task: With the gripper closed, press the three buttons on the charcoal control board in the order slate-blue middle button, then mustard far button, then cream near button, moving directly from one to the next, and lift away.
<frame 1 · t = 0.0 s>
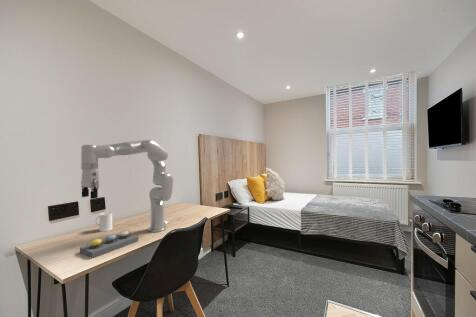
hand: (89, 197, 111), 31 cm above the table, fingers open, 9 cm apart
slate button: (110, 237, 120), point 5 cm above the table, slide at 0.0 cm
mug: (103, 229, 150), on the table
mustard button: (96, 242, 113), point 5 cm above the table, slide at 0.0 cm
control board: (110, 246, 120), on the table
cream button: (124, 233, 127), point 5 cm above the table, slide at 0.0 cm
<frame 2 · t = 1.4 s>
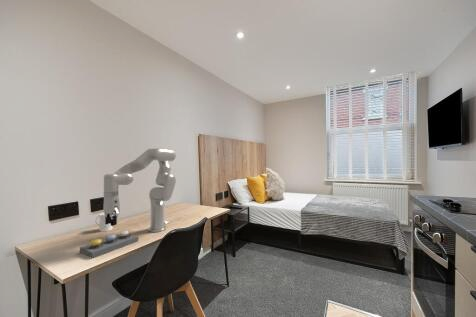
hand: (111, 224, 120), 13 cm above the table, fingers open, 5 cm apart
nothing on the table moved.
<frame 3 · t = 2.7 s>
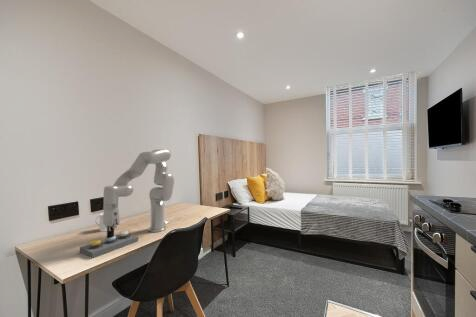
hand: (110, 236, 120), 6 cm above the table, fingers closed
slate button: (110, 238, 120), point 5 cm above the table, slide at 0.7 cm
everything else where it was.
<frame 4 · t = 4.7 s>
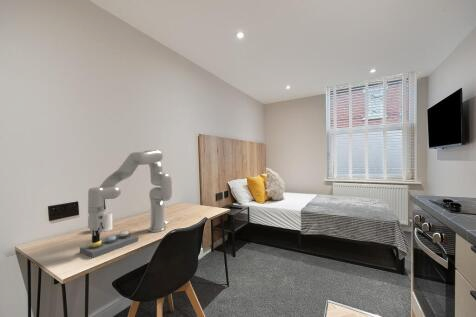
hand: (95, 241, 113), 6 cm above the table, fingers closed
mustard button: (96, 243, 113), point 5 cm above the table, slide at 0.8 cm, touching gripper
everything else where it was.
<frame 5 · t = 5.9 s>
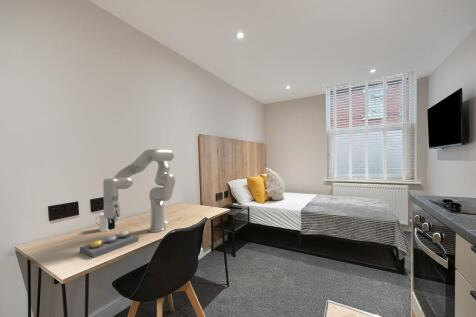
hand: (111, 228, 120), 10 cm above the table, fingers closed
mustard button: (96, 243, 113), point 5 cm above the table, slide at 0.9 cm
everything else where it was.
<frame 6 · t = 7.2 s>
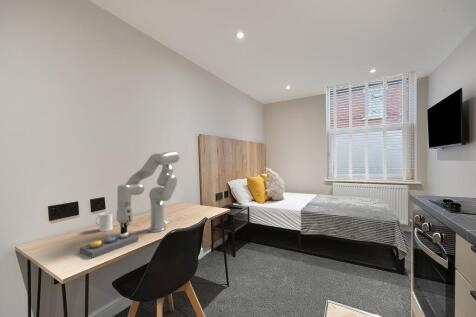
hand: (123, 233, 127), 6 cm above the table, fingers closed
cream button: (124, 234, 127), point 5 cm above the table, slide at 0.9 cm, touching gripper
everything else where it was.
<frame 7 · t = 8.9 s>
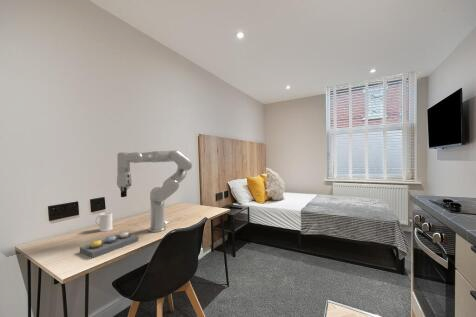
hand: (123, 196, 138), 27 cm above the table, fingers closed
cream button: (124, 234, 127), point 5 cm above the table, slide at 0.9 cm
everything else where it was.
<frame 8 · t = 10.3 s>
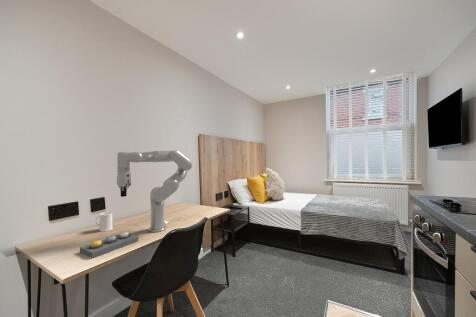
hand: (123, 196, 138), 27 cm above the table, fingers closed
nothing on the table moved.
at the end: slate button slide at 0.9 cm; mustard button slide at 0.9 cm; cream button slide at 0.9 cm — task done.
